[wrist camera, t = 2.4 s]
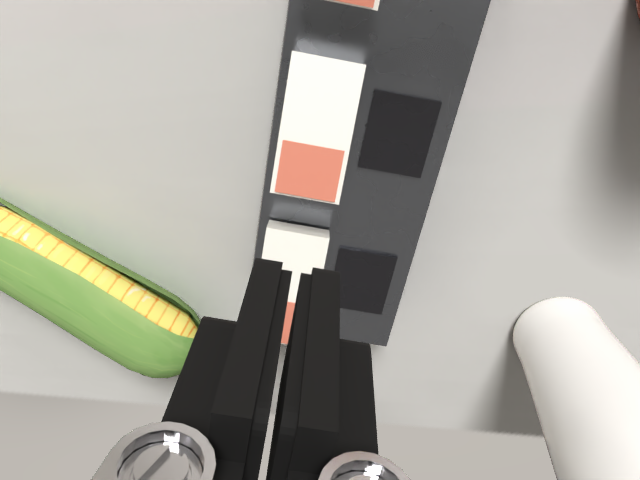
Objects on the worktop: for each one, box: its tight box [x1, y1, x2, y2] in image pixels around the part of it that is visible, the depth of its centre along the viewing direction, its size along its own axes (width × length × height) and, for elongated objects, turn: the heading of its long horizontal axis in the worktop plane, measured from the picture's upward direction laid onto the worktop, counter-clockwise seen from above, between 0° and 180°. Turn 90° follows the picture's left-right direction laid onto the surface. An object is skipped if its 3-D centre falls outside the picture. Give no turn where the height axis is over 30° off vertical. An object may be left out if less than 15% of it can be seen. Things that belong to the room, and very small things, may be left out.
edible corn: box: [0, 198, 200, 378], centre depth 31 cm, size 5×20×5 cm
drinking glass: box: [513, 297, 640, 480], centre depth 27 cm, size 7×7×15 cm
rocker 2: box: [262, 220, 330, 345], centre depth 26 cm, size 3×6×2 cm, turn 170°
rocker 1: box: [270, 51, 366, 205], centre depth 23 cm, size 3×6×2 cm, turn 170°
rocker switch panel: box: [253, 0, 491, 346], centre depth 26 cm, size 8×24×4 cm, turn 170°
